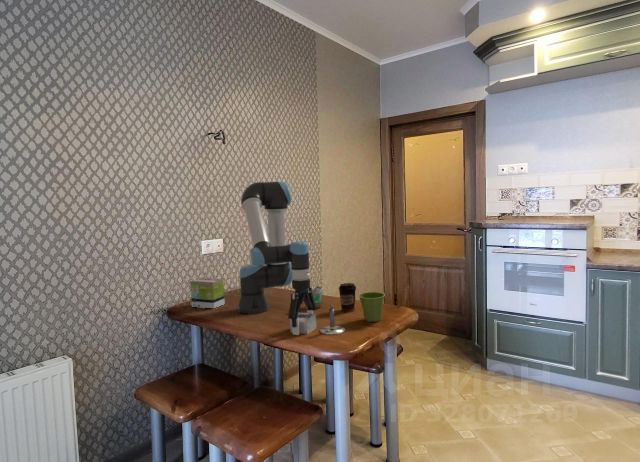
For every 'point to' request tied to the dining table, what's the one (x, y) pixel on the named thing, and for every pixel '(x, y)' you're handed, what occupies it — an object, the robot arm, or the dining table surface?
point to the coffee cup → (347, 296)
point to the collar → (305, 323)
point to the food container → (317, 297)
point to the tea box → (207, 293)
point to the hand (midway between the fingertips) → (303, 329)
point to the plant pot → (372, 305)
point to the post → (332, 325)
